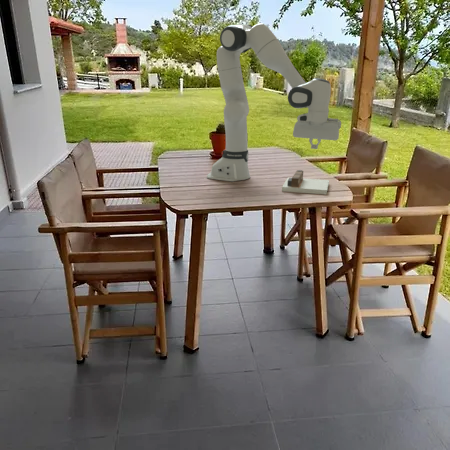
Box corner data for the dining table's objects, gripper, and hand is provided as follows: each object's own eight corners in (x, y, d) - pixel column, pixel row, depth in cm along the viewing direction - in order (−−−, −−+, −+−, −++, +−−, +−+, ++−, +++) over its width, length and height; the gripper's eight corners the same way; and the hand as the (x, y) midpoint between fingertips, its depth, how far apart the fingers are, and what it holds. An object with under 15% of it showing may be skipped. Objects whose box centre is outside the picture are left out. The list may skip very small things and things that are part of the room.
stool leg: (296, 177, 201) (297, 169, 199) (303, 178, 200) (303, 170, 198) (291, 186, 186) (291, 178, 184) (298, 187, 185) (298, 178, 184)
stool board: (281, 191, 187) (282, 181, 185) (287, 181, 203) (288, 172, 201) (326, 194, 181) (327, 184, 180) (328, 184, 198) (329, 175, 196)
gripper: (342, 118, 180) (337, 149, 185) (295, 115, 185) (293, 145, 190) (341, 119, 174) (337, 151, 179) (293, 116, 179) (291, 147, 185)
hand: (314, 148), depth 185 cm, fingers closed
